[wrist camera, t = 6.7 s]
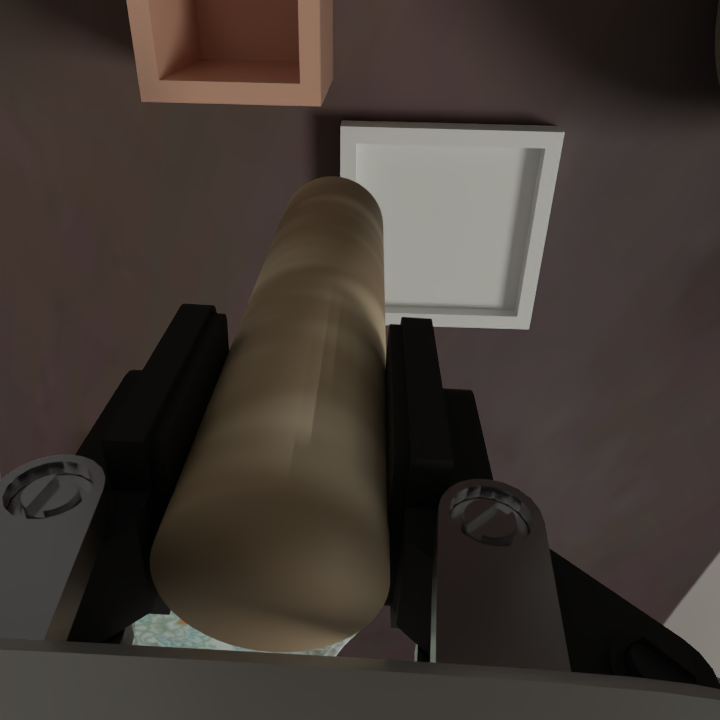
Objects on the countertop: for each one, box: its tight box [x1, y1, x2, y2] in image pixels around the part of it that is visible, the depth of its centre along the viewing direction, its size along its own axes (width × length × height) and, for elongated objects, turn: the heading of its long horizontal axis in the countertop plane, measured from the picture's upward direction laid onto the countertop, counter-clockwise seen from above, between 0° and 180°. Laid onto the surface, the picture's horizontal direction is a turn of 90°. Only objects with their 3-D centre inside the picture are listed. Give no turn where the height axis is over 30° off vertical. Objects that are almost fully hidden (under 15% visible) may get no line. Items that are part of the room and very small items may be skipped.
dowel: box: [150, 176, 390, 652], centre depth 13 cm, size 3×3×13 cm
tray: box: [340, 120, 565, 329], centre depth 35 cm, size 11×11×2 cm
